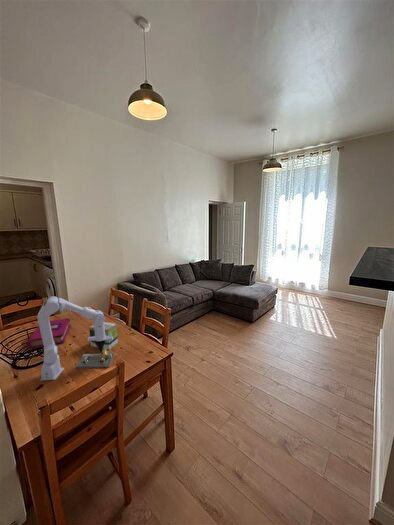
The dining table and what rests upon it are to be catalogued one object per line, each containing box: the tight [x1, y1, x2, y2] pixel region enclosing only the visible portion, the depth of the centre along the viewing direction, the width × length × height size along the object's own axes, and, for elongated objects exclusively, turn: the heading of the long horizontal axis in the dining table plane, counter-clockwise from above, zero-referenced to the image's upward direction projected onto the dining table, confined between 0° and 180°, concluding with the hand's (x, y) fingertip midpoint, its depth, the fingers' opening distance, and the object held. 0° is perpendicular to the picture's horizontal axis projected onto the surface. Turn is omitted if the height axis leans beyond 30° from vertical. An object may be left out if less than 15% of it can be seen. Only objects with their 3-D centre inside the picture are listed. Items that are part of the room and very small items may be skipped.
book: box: [26, 317, 72, 350], centre depth 160 cm, size 21×28×8 cm
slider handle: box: [100, 348, 109, 361], centre depth 133 cm, size 6×3×5 cm, turn 5°
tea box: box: [89, 321, 119, 350], centre depth 150 cm, size 15×10×15 cm, turn 74°
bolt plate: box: [75, 353, 115, 369], centre depth 133 cm, size 11×19×1 cm, turn 95°
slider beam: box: [81, 352, 113, 362], centre depth 133 cm, size 5×17×2 cm, turn 95°
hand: (101, 350), depth 134 cm, fingers closed
